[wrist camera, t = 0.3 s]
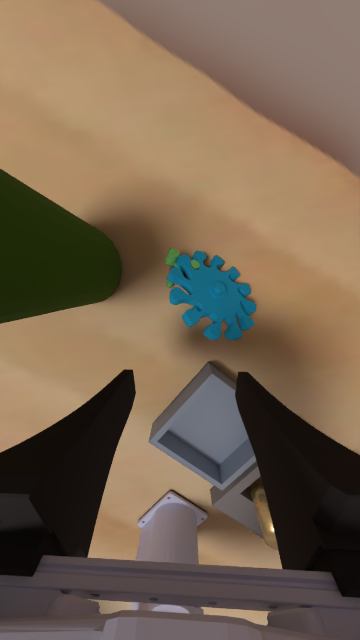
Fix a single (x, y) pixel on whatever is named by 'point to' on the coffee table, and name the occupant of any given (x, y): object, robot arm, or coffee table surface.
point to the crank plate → (239, 500)
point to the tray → (206, 429)
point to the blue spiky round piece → (210, 294)
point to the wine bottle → (49, 256)
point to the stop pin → (263, 512)
